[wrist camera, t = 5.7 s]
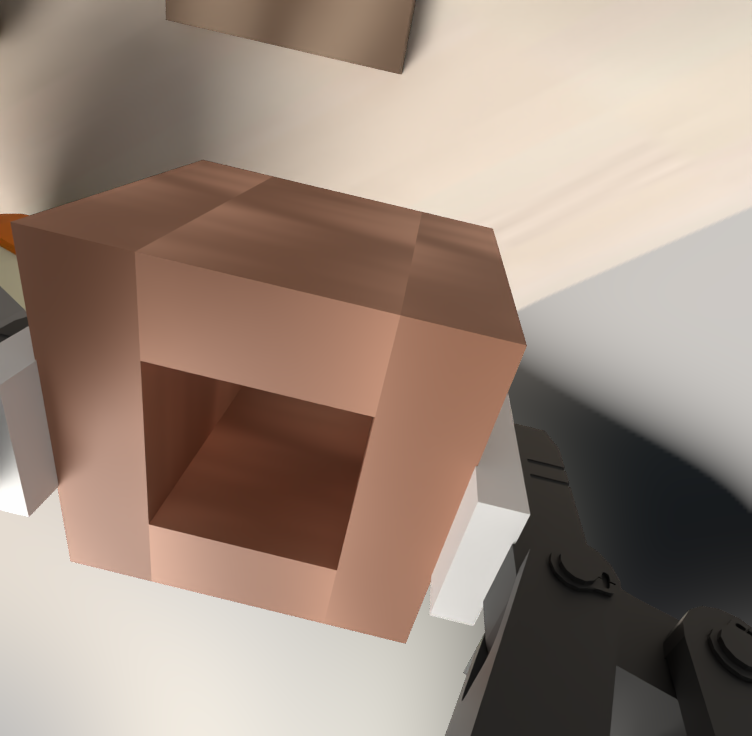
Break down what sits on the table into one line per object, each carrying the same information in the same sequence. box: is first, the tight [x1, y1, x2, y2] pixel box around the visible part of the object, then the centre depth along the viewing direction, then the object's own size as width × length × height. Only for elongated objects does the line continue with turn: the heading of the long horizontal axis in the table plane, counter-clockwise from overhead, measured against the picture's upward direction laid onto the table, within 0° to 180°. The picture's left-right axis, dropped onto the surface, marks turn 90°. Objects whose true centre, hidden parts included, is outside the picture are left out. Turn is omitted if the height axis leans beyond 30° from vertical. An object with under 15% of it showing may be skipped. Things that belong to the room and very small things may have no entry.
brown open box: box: [10, 160, 527, 643], centre depth 11 cm, size 7×7×6 cm
